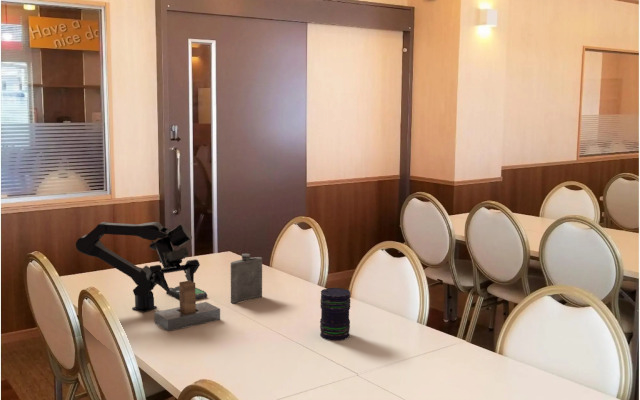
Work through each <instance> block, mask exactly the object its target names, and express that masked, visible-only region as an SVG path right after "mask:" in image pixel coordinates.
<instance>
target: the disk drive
mask: <svg viewBox="0 0 640 400" xmlns="http://www.w3.org/2000/svg"><path fill="white" fill-rule="evenodd" d="M169 290H170V292H169V293H168V292H167V291H165V292H166V295H168V296H171V297H172V298H175V299H177V300H179V301H180V290H179V285H177V286H176V287H169ZM195 296H196V301H198V300H202V299H203V300H204V299H207V298H208V293H207V291H205V290H202V289H200V288H198V287H196V286H195Z"/></svg>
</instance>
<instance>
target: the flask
mask: <svg viewBox="0 0 640 400" xmlns="http://www.w3.org/2000/svg"><path fill="white" fill-rule="evenodd" d="M261 298H263V257H261V256H257V257H256V256H255V257H253V256H252V257H251V254H250V253H242V254H241V259H239V260H234V261H231V262H230V303H231V304H234V305H235V304H240V303H241V302H242V303H243V302H247V301H251V300H255V299H261Z"/></svg>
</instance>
